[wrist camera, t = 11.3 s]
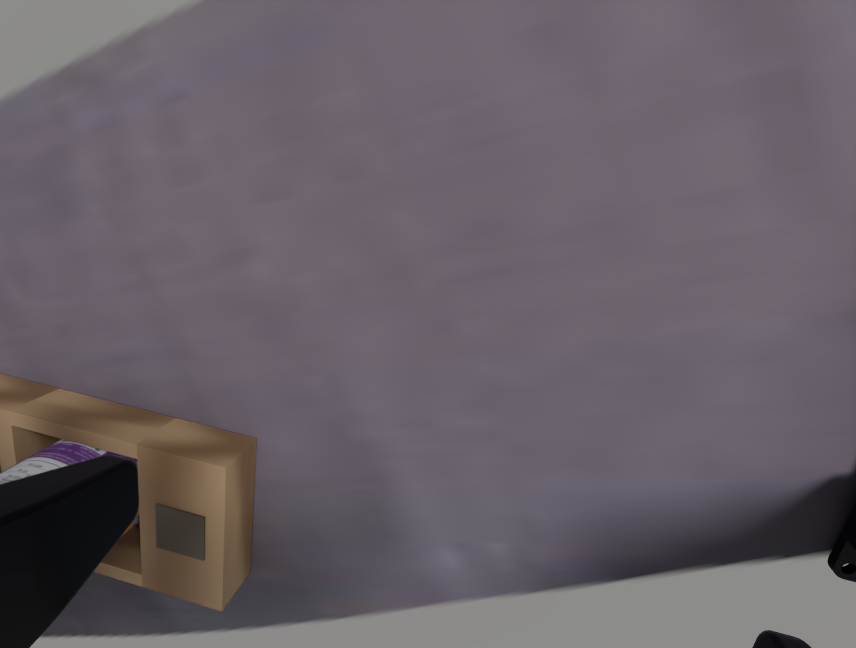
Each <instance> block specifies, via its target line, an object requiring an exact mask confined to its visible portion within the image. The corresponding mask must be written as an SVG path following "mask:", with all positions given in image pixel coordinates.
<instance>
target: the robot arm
mask: <svg viewBox="0 0 856 648" xmlns="http://www.w3.org/2000/svg"><path fill="white" fill-rule="evenodd" d="M138 508H139V484H138V467H137V465H136V463H135V462H134V461H132V460H130V459H127V458H123V457H119V456H115V455H104V456H100V457H97V458H93V459H89V460H86V461H82V462H79V463H75V464H71V465H68V466H64V467H61V468H57V469H53V470H50V471H46V472H43V473H39V474H35V475H32V476H28V477H25V478H21V479H17V480H14V481H10V482H7V483H3V484H0V648H29V647H31V645H32V644H33V643H34V642H35V641H36V640H37V639H38V638H39V637H40V636H41V635H42V633H43V632H44V631H45V630H46V629H47V628H48V627H49V626H50V624H51V623H52V622H53V621H54V620H55V619H56V618H57V617H58V615H59V614H60V613H61V612H62V610H63V609H64V608H65V607H66V606H67V604H68V603H69V602H70V601H71V600H72V598H73V597H74V596H75V595H76V593H77V592H78V591H79V589H80V588H81V587H82V586H83V584H84V583H85V582H86V581H87V579H88V578H89V577H90V575H91V574H92V573H93V572H94V570H95V569H96V568H97V566H98V565H99V564H100V563H101V561H102V560H103V559H104V558H105V556H106V555H107V554H108V552H109V551H110V550H111V549H112V547H113V546H114V545H115V544H116V542H117V541H118V540H119V538H120V537H121V536H122V535H123V533H124V532H125V531H126V530H127V528H128V527H129V526H130V524H131V523H132V522H133V520H134V518H135V516H136V514H137V512H138ZM847 563H849V564H848V565H846V566H843V565H844V564H847ZM828 565H829V567H830V568H831V569H832V570H833V572H834V573H835V574H836V575H837V576H838V577H840V578H842V579H846V580H849V581H853V582H856V504H855V506H854V508H853V510H852V512H851V514H850V516H849V518H848V520H847V522H846V524H845V526H844V528H843V530H842V532H841V534H840V536H839V538H838V540H837V542H836V544H835V546H834V548H833V550H832V552H831V553H830V555H829V557H828ZM753 648H811V647H810V646H809V645H808V644H806V643H805V642H804V641H802V640H801V639H799V638H796V637H793V636H789V635H785V634H782V633H778V632H774V631H770V630H769V631H763V632H762V633H761V634H759V636H758V637H757V639H756V641H755V643H754V646H753Z"/></svg>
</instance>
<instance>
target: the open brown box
mask: <svg viewBox="0 0 856 648" xmlns="http://www.w3.org/2000/svg"><path fill="white" fill-rule="evenodd" d="M60 439H64V440H68V441H72V442H75V443H79V444H83V445H86V446H90V447H94V448H98V449H101V450H105V451H109V452H113V453H116V454H120V455H124V456H127V457H131V458H135V459H137V467H138V484H139V518H140V528H138V527H135V526H133V527H132V528H131V529H130V530H128V531H127V532H126V533H125V534H124V535H123V536H122V537H121V538H119V540H118V541H117V542H116V544H115V545H114V546H113V547H112V549H111V550H110V551H109V552H108V554H107V555H106V556H105V558H104V559H103V560H102V561H101V563H100V564H99V565H98V566H97V568H96V569H95V570H94V572H95V573H99V574H102V575H105V576H108V577H112V578H115V579H118V580H121V581H125V582H128V583H131V584H134V585H137V586H141V587H144V588H147V589H150V590H154V591H157V592H160V593H163V594H167V595H170V596H173V597H176V598H180V599H183V600H186V601H189V602H192V603H196V604H199V605H202V606H205V607H209V608H212V609H215V610H218V611H223V610H224V608H225V607H226V605H227V604H228V603H229V601H230V600H231V598H232V597H233V596H234V594H235V593H236V591H237V590H238V588H239V587H240V586H241V584H242V583H243V581H244V580H245V579H246V577H247V576H248V574H249V573H250V570H251V549H252V528H253V508H254V487H255V466H256V445H257V438H253V437H249V436H245V435H241V434H237V433H233V432H229V431H225V430H221V429H217V428H214V427H210V426H206V425H202V424H198V423H194V422H190V421H186V420H182V419H178V418H174V417H170V416H166V415H162V414H158V413H154V412H150V411H146V410H142V409H138V408H134V407H130V406H126V405H122V404H118V403H114V402H110V401H106V400H102V399H98V398H95V397H91V396H87V395H83V394H79V393H75V392H71V391H67V390H63V389H59V388H55V387H51V386H47V385H43V384H39V383H35V382H31V381H27V380H23V379H19V378H15V377H11V376H7V375H3V374H0V473H1V472H3V471H5V470H6V469H8V468H10V467H12V466H14V465H15V464H17V463H19V462H21V461H23V460H25V459H26V458H28V457H30V456H32V455H34V454H35V453H37V452H39V451H41V450H43V449H44V448H46V447H48V446H50V445H51V444H53V443H55V442H57V441H59V440H60Z"/></svg>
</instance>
